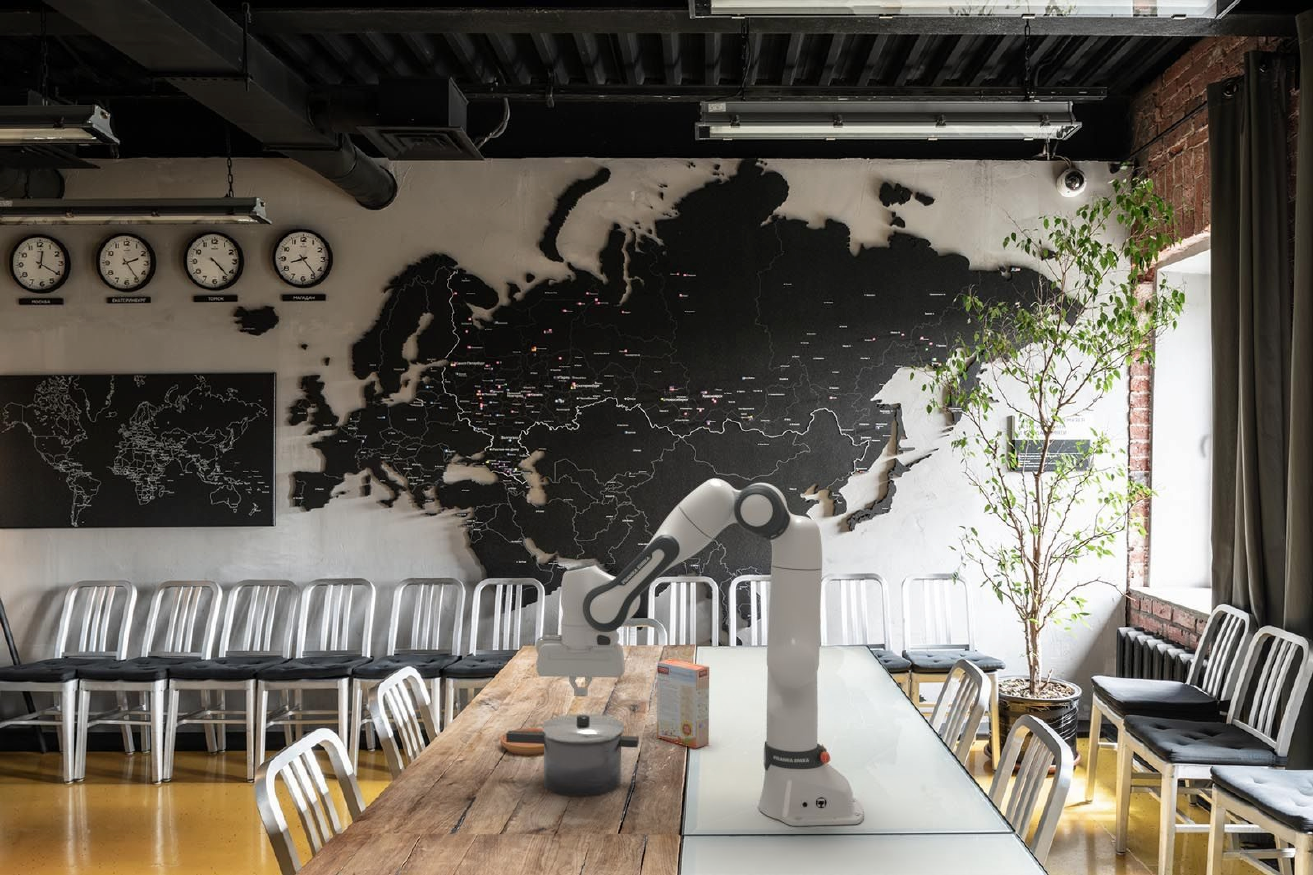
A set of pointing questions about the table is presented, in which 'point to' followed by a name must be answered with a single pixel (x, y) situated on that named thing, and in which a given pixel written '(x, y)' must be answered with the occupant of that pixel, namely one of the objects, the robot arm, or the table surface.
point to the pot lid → (582, 728)
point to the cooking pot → (578, 763)
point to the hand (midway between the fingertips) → (580, 695)
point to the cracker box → (683, 703)
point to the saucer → (523, 745)
